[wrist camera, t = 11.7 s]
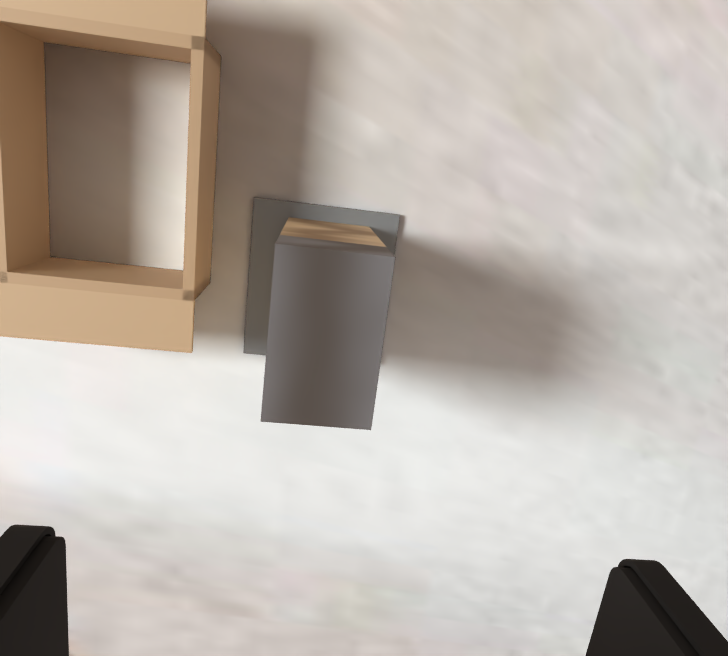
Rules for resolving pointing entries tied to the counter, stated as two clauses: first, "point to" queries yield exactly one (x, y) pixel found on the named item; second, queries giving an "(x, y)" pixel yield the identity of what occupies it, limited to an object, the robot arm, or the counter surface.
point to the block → (326, 324)
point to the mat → (264, 236)
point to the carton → (30, 179)
